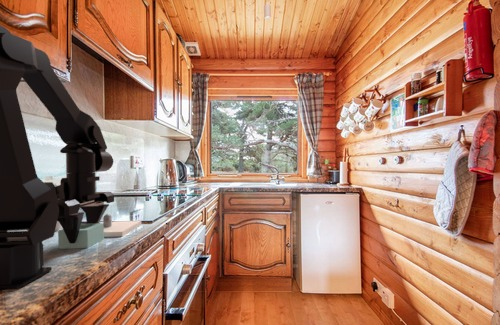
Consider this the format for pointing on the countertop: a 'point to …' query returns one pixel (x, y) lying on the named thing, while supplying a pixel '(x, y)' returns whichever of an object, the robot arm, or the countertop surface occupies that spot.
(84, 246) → the block with square hole
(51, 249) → the countertop surface
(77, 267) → the countertop surface
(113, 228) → the base plate
